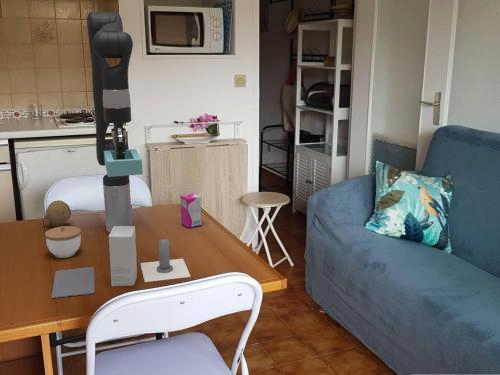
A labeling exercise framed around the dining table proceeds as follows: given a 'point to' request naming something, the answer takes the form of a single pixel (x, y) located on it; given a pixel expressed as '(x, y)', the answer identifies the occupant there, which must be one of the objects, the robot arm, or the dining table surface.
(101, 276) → the dining table surface
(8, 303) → the dining table surface
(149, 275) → the post stand
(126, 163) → the teal link
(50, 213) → the natural sponge
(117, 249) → the skincare box
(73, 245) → the lidded jar
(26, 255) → the dining table surface
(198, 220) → the supplement box
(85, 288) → the grey mat
